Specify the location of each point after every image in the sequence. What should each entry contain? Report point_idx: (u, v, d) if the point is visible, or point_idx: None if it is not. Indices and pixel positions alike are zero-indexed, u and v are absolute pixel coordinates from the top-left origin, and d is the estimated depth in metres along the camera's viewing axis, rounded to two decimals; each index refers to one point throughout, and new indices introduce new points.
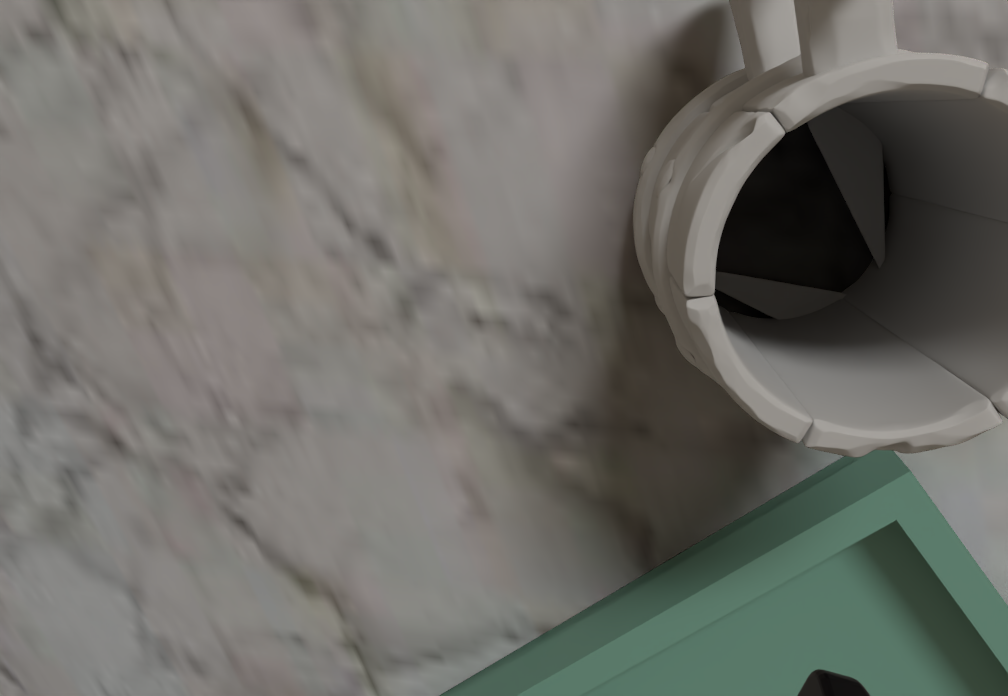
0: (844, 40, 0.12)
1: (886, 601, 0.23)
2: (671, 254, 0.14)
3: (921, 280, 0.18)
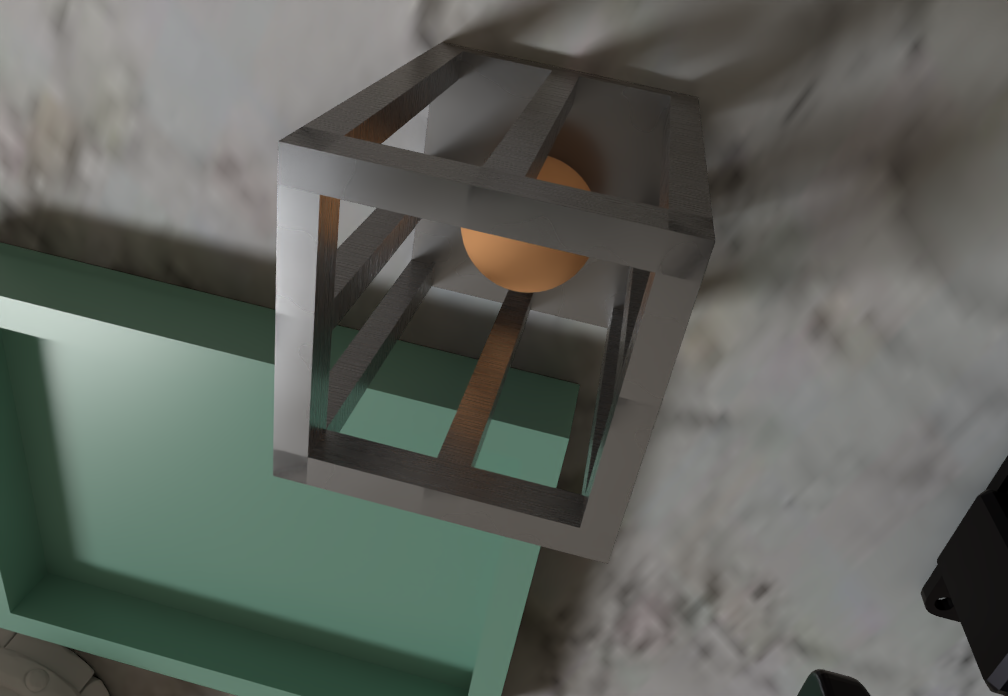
0: None
1: (78, 518, 0.27)
2: None
3: None
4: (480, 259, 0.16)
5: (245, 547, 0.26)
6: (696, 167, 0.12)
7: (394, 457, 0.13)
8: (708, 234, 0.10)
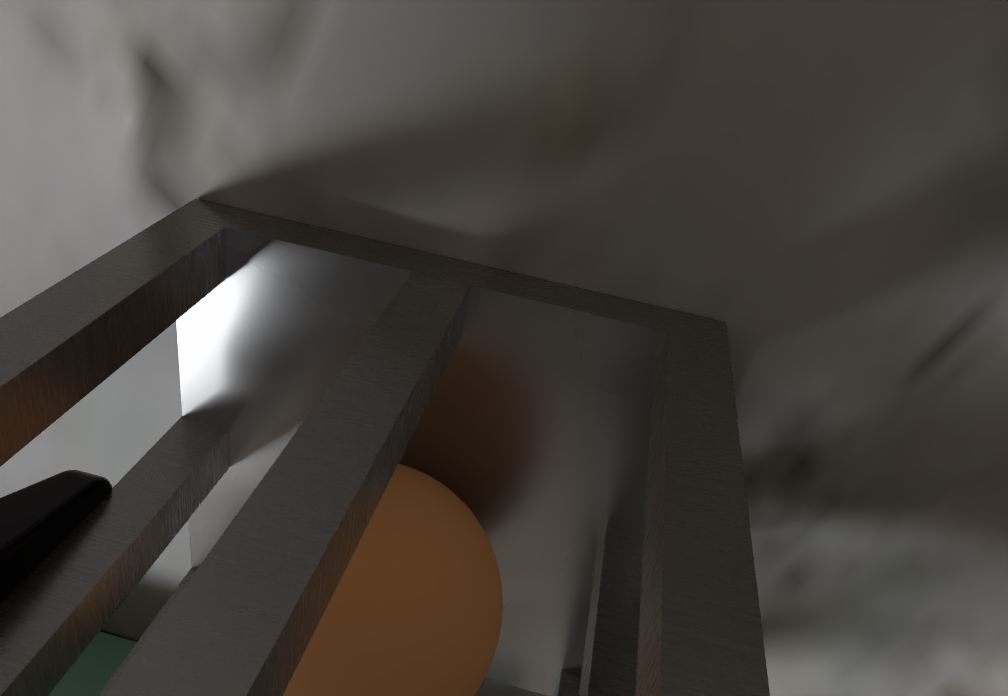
0: None
1: None
2: None
3: None
4: None
5: None
6: None
7: None
8: None
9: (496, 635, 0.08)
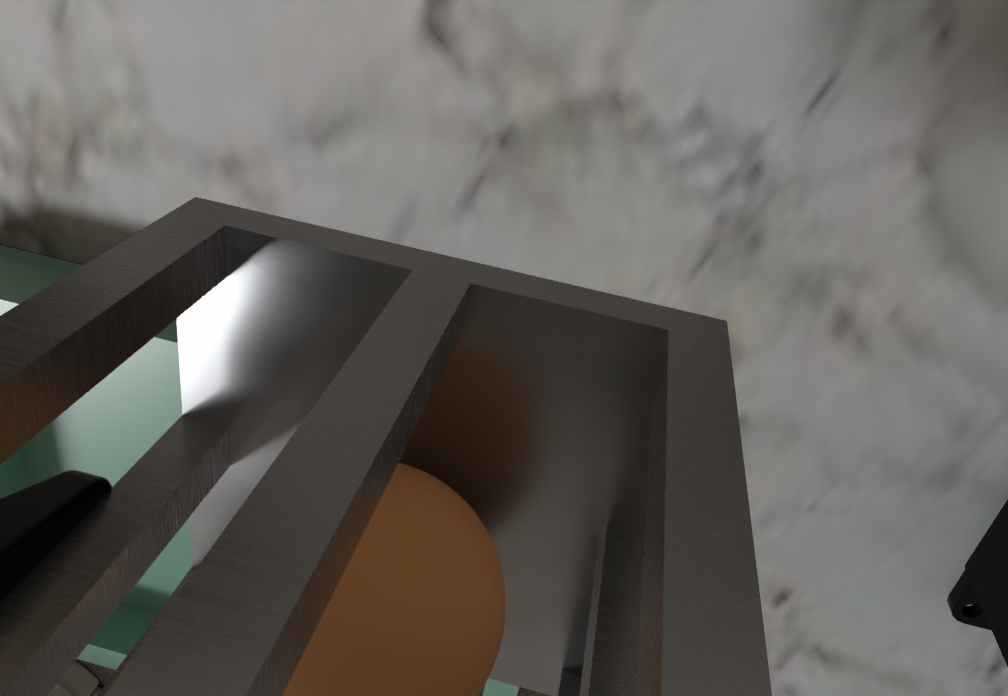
0: None
1: None
2: None
3: None
4: None
5: None
6: None
7: None
8: None
9: (500, 633, 0.08)
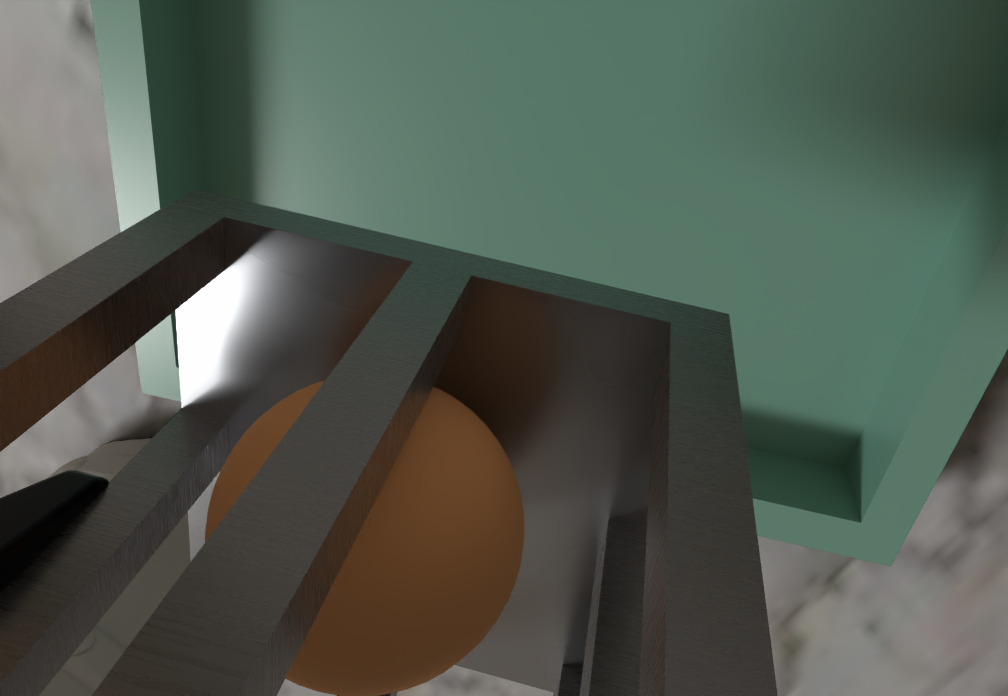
0: None
1: None
2: None
3: None
4: None
5: (528, 244, 0.17)
6: None
7: None
8: None
9: (522, 513, 0.07)
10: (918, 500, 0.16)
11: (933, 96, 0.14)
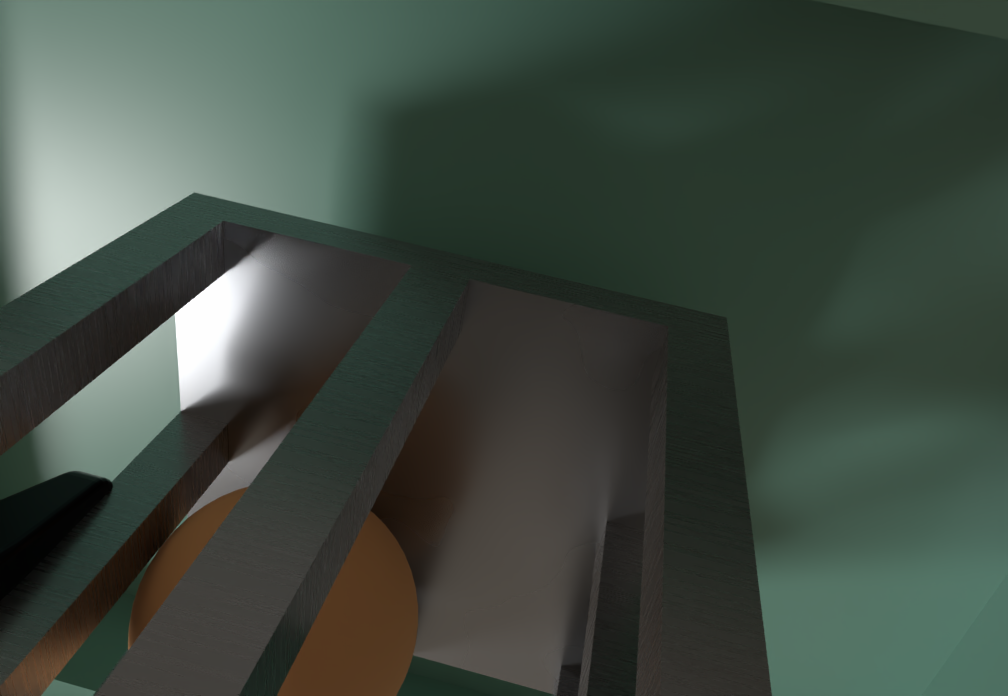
0: None
1: (55, 443, 0.13)
2: None
3: None
4: None
5: None
6: None
7: None
8: None
9: None
10: None
11: None
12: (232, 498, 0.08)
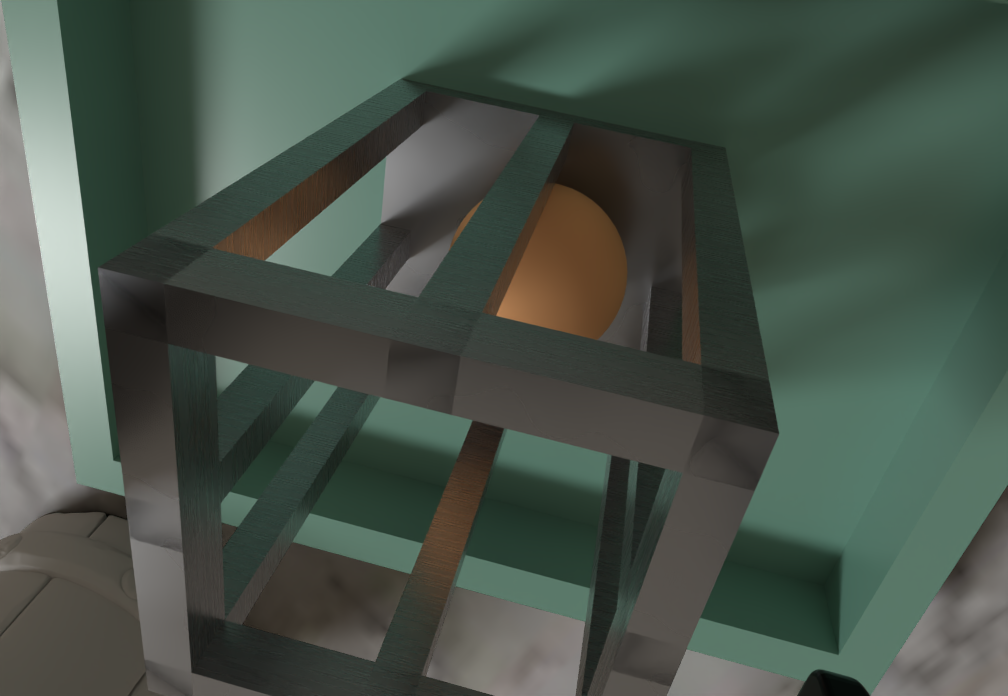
0: None
1: None
2: None
3: None
4: None
5: None
6: (735, 273, 0.09)
7: (315, 665, 0.10)
8: (767, 418, 0.06)
9: (622, 245, 0.13)
10: (899, 637, 0.15)
11: (930, 223, 0.13)
12: None
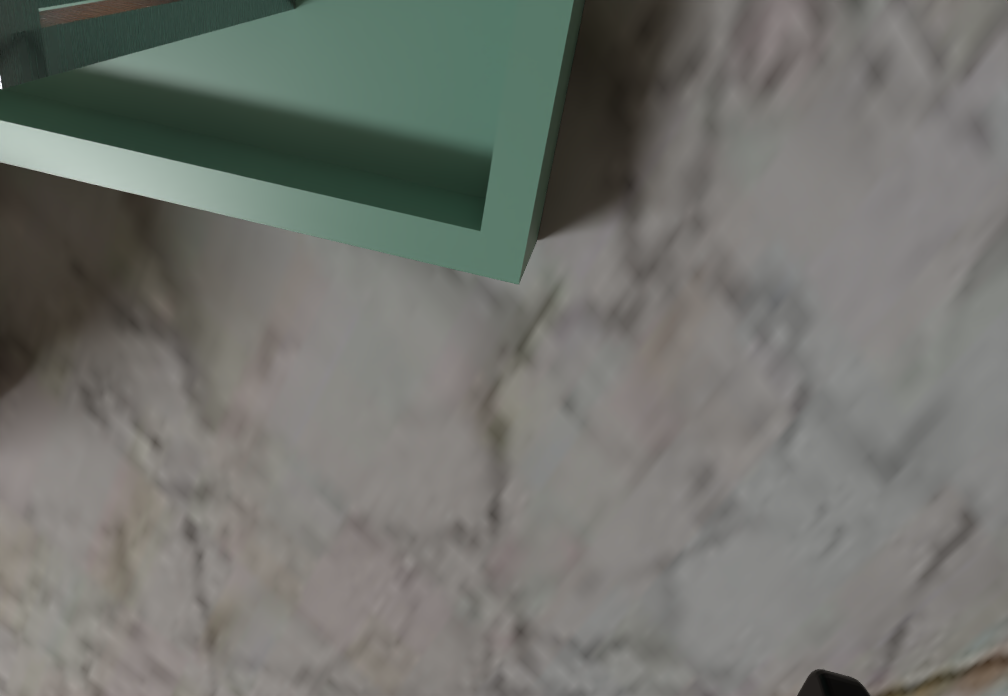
0: None
1: None
2: None
3: None
4: None
5: None
6: None
7: None
8: None
9: None
10: (528, 200, 0.16)
11: None
12: None
